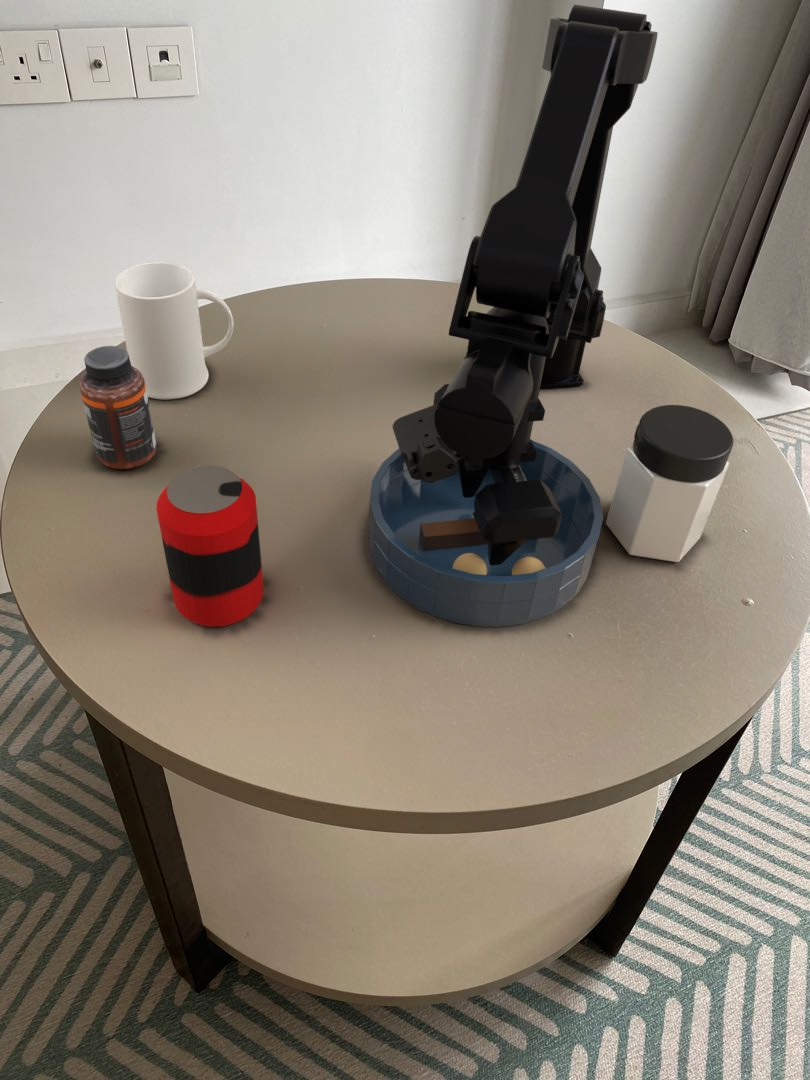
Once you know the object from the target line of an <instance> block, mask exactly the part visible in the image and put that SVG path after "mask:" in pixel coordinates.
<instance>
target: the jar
mask: <svg viewBox="0 0 810 1080" xmlns="http://www.w3.org/2000/svg"><path fill="white" fill-rule="evenodd" d="M633 437H634V438H633V442H632V443H631V444H630V445H628V447H627V448H626V451H625V454H624V457H623V461H622V465H621V467H620V472H619V475H618V479H617V482H616V485H615V490H614V492H613V496H612V500H611V503H610V506H609V510H608V513H607V517H606V520H605V525H606V526H607V527H608V529H609V530H610V531H611V533H612V534H613V535H614V536H615V538H616V539H617V540H618V542H619V543H620V544H621V546H622V547H623V549H624V550H625V551H626V553H627V554H628V555H630V556H634V557H643V558H648V559H654V560H660V561H666V562H671V563H679V562H680V561H681V560H682V559H683V558H684V557H685V555H687V553H688V552H689V551H690V550H691V549H692V548H693V547H694V545H696V544H697V543H698V541H699V540H700V538H701V537H702V534H703V531H704V530H705V527H706V524H707V521H708V519H709V517H710V514H711V511H712V510H713V506H714V504H715V501H716V498H717V496H718V493H719V491H720V489H721V486H722V483H723V481H724V478H725V476H726V473H727V471H728V469H729V466H730V462H729V461H728V460H729V457H730V454H731V452H732V450H733V447H734V436H733V434H732V431H731V430H730V428H729V427H728V426H727V425H726V424H725V423H724V422H723V421H722V420H721V419H720V418H719V417H717V416H715V415H713V414H711V413H709V412H707V411H705V410H702V409H699V408H698V407H697V408H696V407H694V406H693V407H692V406H688V405H681V404H664V405H659V406H655V407H652V408H651V409H649V410H647V411H646V412H645V413H643V414H642V416H641V417H640V419H639V422H638V423H637V426H636V428H635V431H634V435H633Z"/></svg>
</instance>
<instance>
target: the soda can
mask: <svg viewBox="0 0 810 1080" xmlns="http://www.w3.org/2000/svg"><path fill="white" fill-rule="evenodd" d="M155 507H156V508H155V509H156V515H157V520H158V524H159V530H160V535H161V542H162V547H163V552H164V555H165V556H164V557H165V562H166V567H167V571H168V577H169V578H168V579H169V583H170V587H171V588H170V589H171V593H172V599H173V603H174V606H175V608H176V609H177V611H178V613H179V614H180V615H181V616H182V617H183V618H185V619H186V620H188V621H190V622H192V623H195V624H196V625H199V626H200V625H201V626H206V627H215V628H216V627H217V628H218V627H225V626H230V625H233V624H236V623H238V622H240V621H242V620H244V619H246V618H247V617H249V616H250V615H251V614H252V613H254V612H255V611H256V610H257V608H258V607H259V606H260V604H261V602H262V600H263V598H264V592H265V591H264V577H263V566H262V565H263V564H262V555H261V544H260V532H259V530H260V529H259V519H258V507H257V496H256V493H255V490H254V489H253V487H252V486H251V485H250V484H249V483H248V482H247V481H246V480H245V479H243V478H242V477H240V476H239V475H238V474H236V473H235V472H234V471H233V470H230V469H228V468H227V467H223V466H218V465H197V466H193V467H190V468H187V469H185V470H183V471H181V472H179V473H178V474H176V475H175V476H174V477H173V478H172V479H170V481H169V483H168V484H167V485H166V487H165V488H164V489H163V490H162V491H161V493H160V494H159V496H158V498H157V501H156V506H155Z"/></svg>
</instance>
